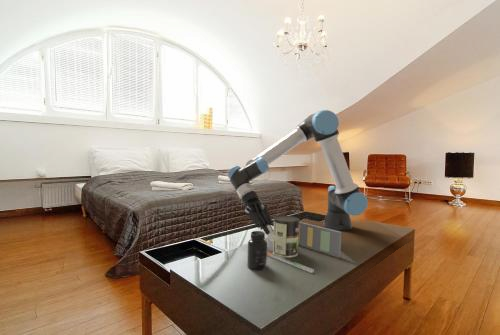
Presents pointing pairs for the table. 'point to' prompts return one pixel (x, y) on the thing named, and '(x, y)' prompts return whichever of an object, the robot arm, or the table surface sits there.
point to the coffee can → (286, 236)
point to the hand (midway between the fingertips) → (274, 239)
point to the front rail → (290, 262)
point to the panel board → (320, 239)
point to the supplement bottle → (257, 251)
